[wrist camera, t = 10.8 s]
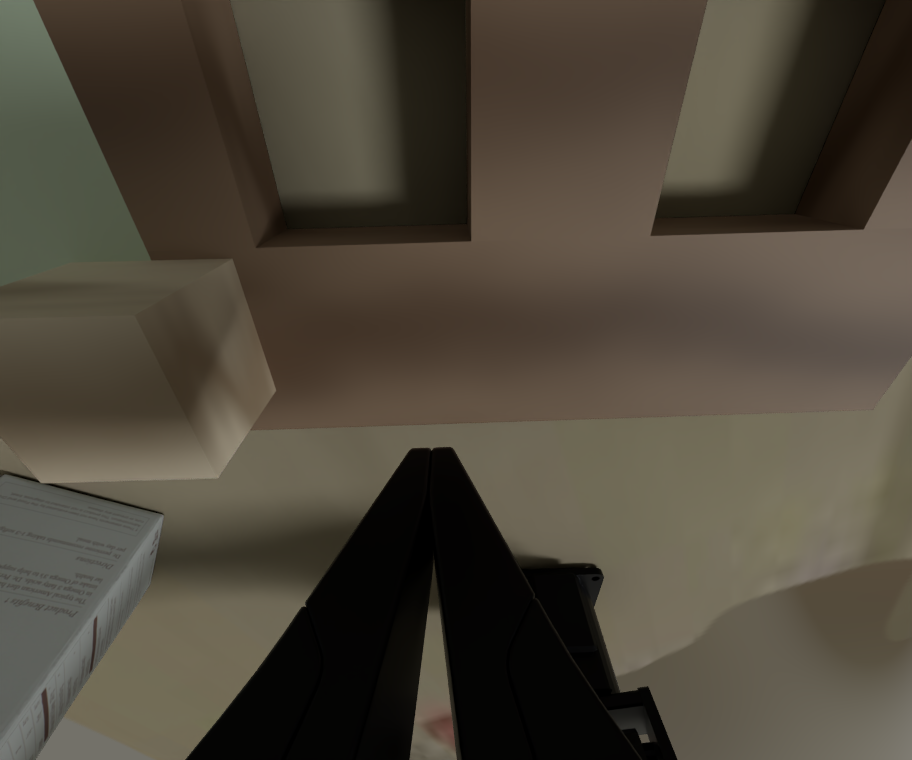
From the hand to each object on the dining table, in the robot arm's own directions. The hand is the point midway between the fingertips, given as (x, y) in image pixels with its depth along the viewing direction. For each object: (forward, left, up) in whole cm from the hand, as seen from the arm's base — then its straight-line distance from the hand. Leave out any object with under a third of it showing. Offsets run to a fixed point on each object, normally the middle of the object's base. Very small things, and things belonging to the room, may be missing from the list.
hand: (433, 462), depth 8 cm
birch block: (+1, +8, -5) cm, 10 cm away
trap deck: (+3, -1, -8) cm, 9 cm away
